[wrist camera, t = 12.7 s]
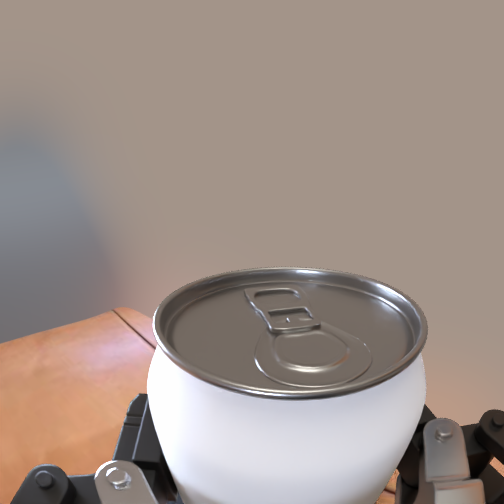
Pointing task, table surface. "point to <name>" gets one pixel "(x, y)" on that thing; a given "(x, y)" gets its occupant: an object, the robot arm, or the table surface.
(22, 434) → the table surface
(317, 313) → the can
